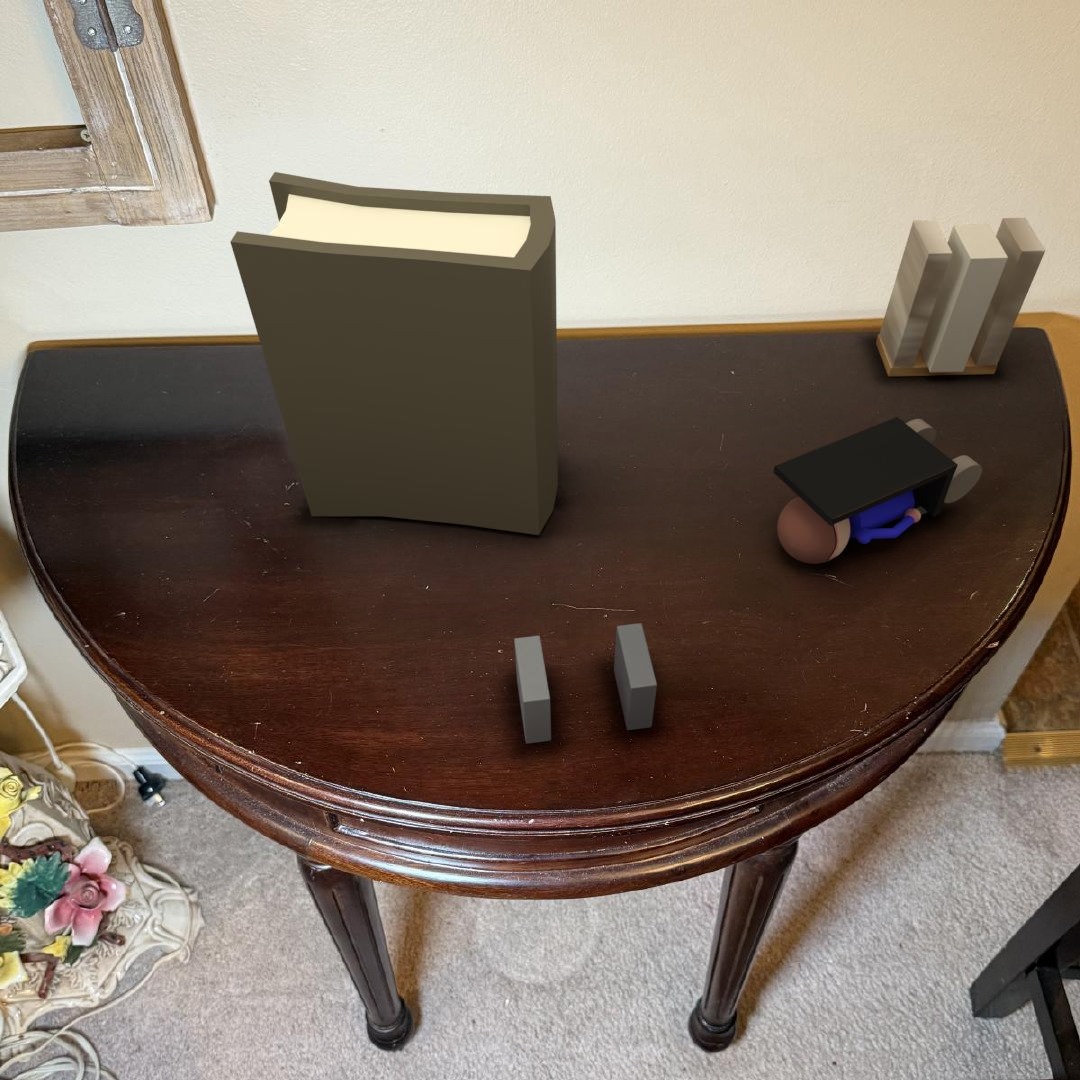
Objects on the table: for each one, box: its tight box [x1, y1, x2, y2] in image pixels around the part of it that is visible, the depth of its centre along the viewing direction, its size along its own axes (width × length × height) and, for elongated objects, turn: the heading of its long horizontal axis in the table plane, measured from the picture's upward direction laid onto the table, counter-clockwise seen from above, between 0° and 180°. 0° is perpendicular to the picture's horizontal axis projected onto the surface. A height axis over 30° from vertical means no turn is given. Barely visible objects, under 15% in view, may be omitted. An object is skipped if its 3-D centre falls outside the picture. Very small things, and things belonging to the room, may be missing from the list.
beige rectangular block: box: [920, 223, 1008, 373], centre depth 79 cm, size 3×5×11 cm, turn 1°
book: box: [229, 171, 559, 536], centre depth 66 cm, size 18×8×24 cm, turn 81°
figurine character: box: [773, 416, 983, 565], centre depth 70 cm, size 7×8×15 cm
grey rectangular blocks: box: [513, 622, 658, 744], centre depth 61 cm, size 8×5×5 cm, turn 98°
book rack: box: [875, 217, 1046, 378], centre depth 80 cm, size 9×5×12 cm, turn 91°
